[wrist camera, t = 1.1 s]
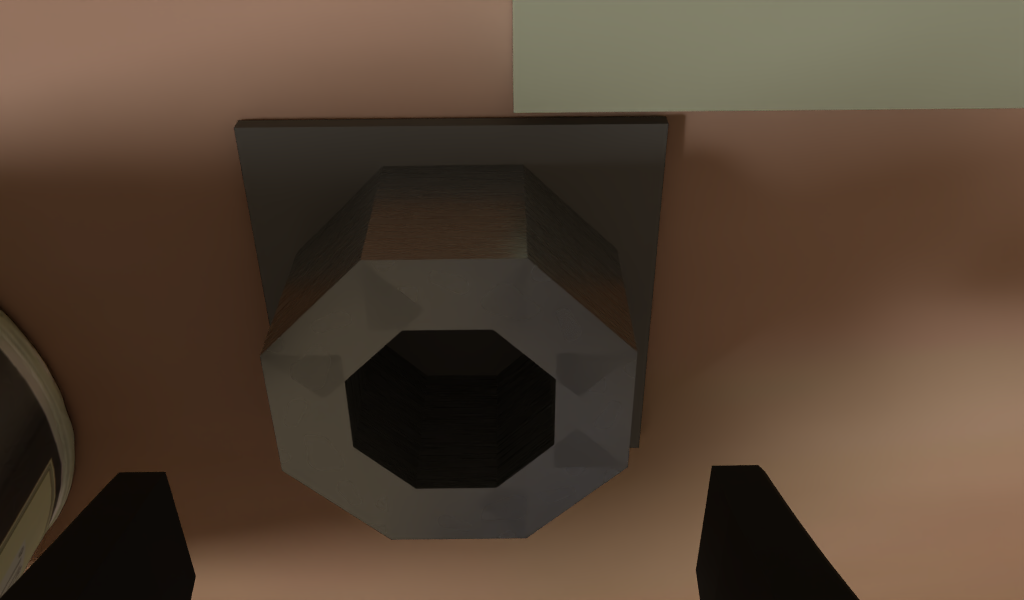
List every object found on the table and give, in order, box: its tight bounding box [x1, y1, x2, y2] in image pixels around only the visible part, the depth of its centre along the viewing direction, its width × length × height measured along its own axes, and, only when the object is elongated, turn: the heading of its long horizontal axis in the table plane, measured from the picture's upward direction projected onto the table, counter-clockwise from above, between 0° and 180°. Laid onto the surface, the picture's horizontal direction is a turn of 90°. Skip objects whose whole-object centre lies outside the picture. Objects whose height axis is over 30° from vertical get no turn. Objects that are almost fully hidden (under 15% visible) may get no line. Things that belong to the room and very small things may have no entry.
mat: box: [234, 117, 668, 448], centre depth 17 cm, size 7×7×1 cm
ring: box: [260, 165, 637, 540], centre depth 16 cm, size 6×6×3 cm
